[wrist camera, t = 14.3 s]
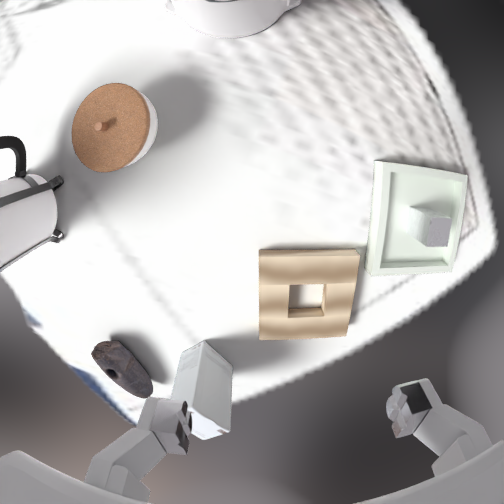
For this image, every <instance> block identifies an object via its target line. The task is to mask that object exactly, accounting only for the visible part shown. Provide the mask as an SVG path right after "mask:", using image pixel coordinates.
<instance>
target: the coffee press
mask: <svg viewBox="0 0 504 504" xmlns="http://www.w3.org/2000/svg"><path fill="white" fill-rule="evenodd" d="M3 148H10V149H12V150H13V151H14V153H15V155H16V172H15V176H14V177H11V178H9V179H8V180H5V181H1V182H0V272H1V271H2V270H4V269H5V268H7V267H8V266H10V265H11V264H13V263H14V262H16V261H17V260H19V259H20V258H22V257H23V256H25V255H27V254H28V253H30V252H31V251H33V250H35V249H36V248H38V247H40V246H41V245H43V244H45V243H47V242H49V241H51V242H55V243H59V242H60V241H61V240H62V239H63V237H64V236H63V233H62V232H61V231H58V230H57V229H55V226H56V222H57V203H56V199H55V195H54V193H53V192H54V191H55V190H56V189H57V188H59V187H60V186H61V185H62V184H63V183H64V182H63V180H62V178H61V177H60V175H59V176H57V177H55V178H54V179H52V180H51V181H49V182H47V181H46V180H45V179H44V178H42V177H41V176H39V175H36V174H27V173H26V150H25V146H24V144H23V142H22V141H21V140H20V139H19V138H17V137H14V136H2V137H0V149H3ZM52 234H53V235H55V236H57V237H54V236H52V237H51V235H52Z"/></svg>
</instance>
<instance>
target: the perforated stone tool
mask: <svg viewBox="0 0 504 504" xmlns="http://www.w3.org/2000/svg"><path fill="white" fill-rule="evenodd" d="M91 355H92V357H93V359H94V360H95V361H96V363H97V364H98V365H99V366H100V368H101V369H102V370H103V371H104V372H105V373H106V374H107V375H108V377H110V378H111V379H112V380H113V381H114V382H115V383H117V384H118V385H119V386H121V387H122V388H124V389H125V390H126V391H128V392H130V393H131V394H133V395H135V396H137V397H140V398H148V397H149V396H150V395H151V394H152V393H153V385H152V381H151V379H150V377H149V375H148V373H147V372H146V371H145V369H144V368H143V367H142V366H141V365H140V363H139V362H138V361H137V359H136V358H135V357H134V356H133V354H132V353H131V352H130V351H129V350H128V349H126V348H125V347H124V346H123V345H122V344H121V342H119V341H104V342H101V343H98V344H97V345H96V346H95V348H94V350H93V352H92V353H91Z"/></svg>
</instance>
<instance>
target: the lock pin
mask: <svg viewBox="0 0 504 504" xmlns="http://www.w3.org/2000/svg"><path fill="white" fill-rule="evenodd" d="M451 225H452V218H450V217H448V216H446V215H444V214H442V213H440V212H438V211H435V210H433V209H431V208H424V207H410V206H409V214H408V222H407V229H406V233H407V234H409V235H410V236H412V237H413V238H415V239H416V240H417V241H419V242H420V243H422V244H423V245H425V246H426V247H447V246H448V241H449V236H450V230H451Z"/></svg>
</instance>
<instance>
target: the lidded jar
mask: <svg viewBox="0 0 504 504" xmlns="http://www.w3.org/2000/svg"><path fill="white" fill-rule="evenodd" d="M157 129H158V118H157V113H156V110H155V108H154V106H153V105H152V103H151V102H150V100H149V99H148V98H147V97H146V96H145V95H144V94H142V93H141V92H139V91H137V90H136V89H134V88H133V87H131V86H128V85H126V84H121V83H111V84H106V85H103V86H101V87H99V88H97V89H95V90H94V91H93V92H91V93H90V94H89V95H88V96H87V97H86V98H85V99H84V101H83V102H82V103H81V105H80V106H79V108H78V110H77V112H76V114H75V117H74V121H73V125H72V143H73V147H74V150H75V153H76V155H77V156H78V158H79V160H80V161H81V162H82V163H83V164H84V165H85V166H86V167H88V168H90V169H91V170H94V171H97V172H111V171H115V170H118V169H121V168H123V167H126V166H128V165H131V164H133V163H134V162H136V161H138V160H139V159H140V158H141V157H143V156H144V155H145V154H146V153H147V152H148V150H149V149H150V147H151V146H152V144H153V142H154V140H155V137H156V134H157Z"/></svg>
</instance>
